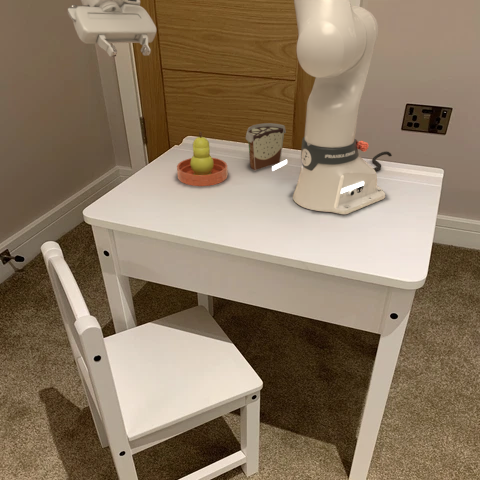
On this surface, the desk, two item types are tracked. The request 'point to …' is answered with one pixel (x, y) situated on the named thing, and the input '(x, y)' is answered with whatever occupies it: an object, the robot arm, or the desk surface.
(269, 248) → the desk surface
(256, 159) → the food container
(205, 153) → the pear
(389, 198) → the desk surface
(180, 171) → the dish
